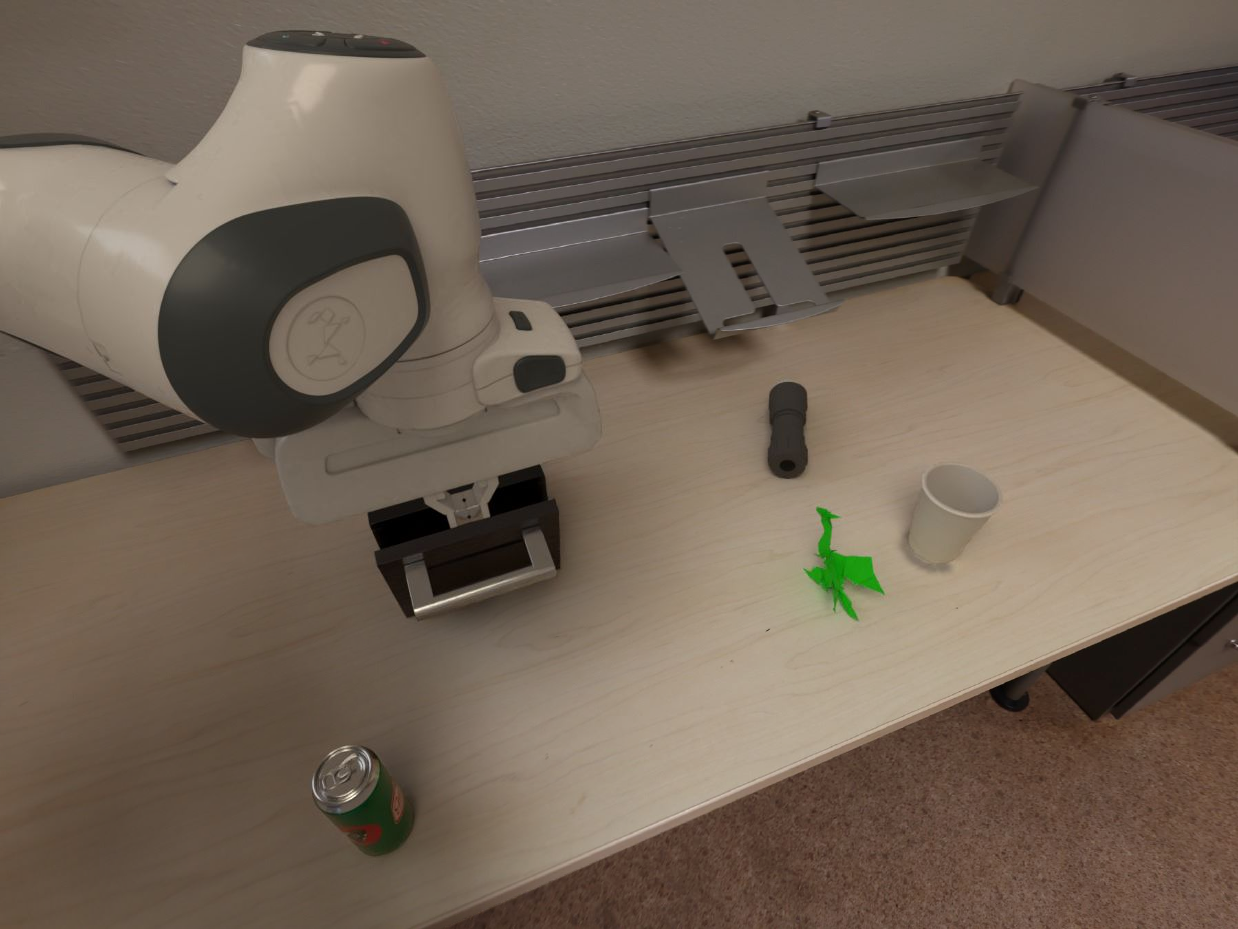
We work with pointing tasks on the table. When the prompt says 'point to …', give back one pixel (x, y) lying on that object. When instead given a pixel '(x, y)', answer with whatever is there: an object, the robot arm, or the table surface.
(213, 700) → the table surface
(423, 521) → the oven
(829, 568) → the figurine
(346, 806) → the soda can
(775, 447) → the flashlight
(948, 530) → the dixie cup
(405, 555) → the oven door
